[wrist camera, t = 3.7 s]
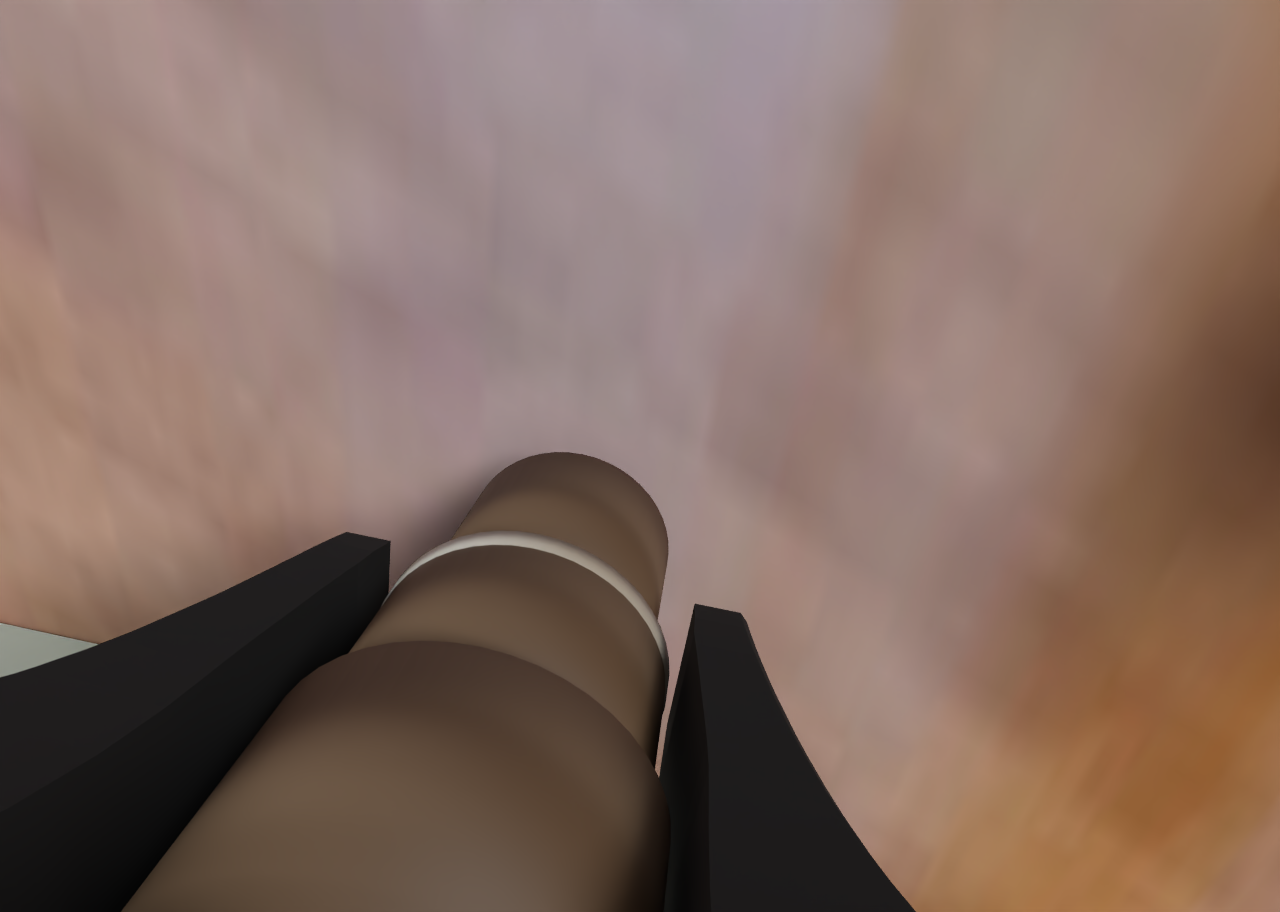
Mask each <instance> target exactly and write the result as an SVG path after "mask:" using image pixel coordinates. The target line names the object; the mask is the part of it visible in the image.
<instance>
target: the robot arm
mask: <svg viewBox="0 0 1280 912" xmlns="http://www.w3.org/2000/svg"><path fill="white" fill-rule="evenodd" d="M390 543H391V541H388V540H383V539H378V538H373V537H368V536H363V535H358V534H354V533H349V532H346V533H343V534H341V535H339V536H336V537H334V538H332V539H329V540H327V541H325V542H323V543H321V544H319V545H317V546H315V547H313V548H311V549H309V550H307V551H305V552H303V553H301V554H299V555H297V556H295V557H293V558H291V559H289V560H287V561H284V562H282V563H280V564H278V565H276V566H274V567H272V568H270V569H268V570H266V571H264V572H262V573H260V574H258V575H256V576H254V577H252V578H250V579H248V580H246V581H244V582H242V583H240V584H237V585H235V586H233V587H231V588H229V589H227V590H225V591H223V592H221V593H219V594H217V595H215V596H212V597H210V598H208V599H206V600H203V601H201V602H199V603H196V604H194V605H192V606H190V607H187V608H185V609H183V610H180V611H178V612H176V613H174V614H171V615H169V616H167V617H164V618H162V619H160V620H157V621H155V622H153V623H151V624H148V625H146V626H144V627H141V628H139V629H137V630H134V631H132V632H129V633H127V634H124V635H122V636H119V637H117V638H114V639H112V640H109V641H106V642H104V643H101V644H98V645H96V646H93V647H90V648H88V649H85V650H82V651H79V652H76V653H73V654H71V655H68V656H65V657H62V658H59V659H56V660H53V661H50V662H47V663H45V664H42V665H39V666H36V667H33V668H30V669H27V670H23V671H20V672H17V673H14V674H10V675H7V676H3V677H0V912H121V911H122V910H123V908H124V907H125V906H126V904H127V903H128V902H129V900H130V899H131V898H132V896H133V895H134V894H135V893H136V891H137V890H138V889H139V887H140V886H141V885H142V883H143V882H144V881H145V879H146V878H147V877H148V876H149V874H150V873H151V872H152V870H153V869H154V868H155V866H156V865H157V864H158V862H159V861H160V860H161V859H162V857H163V856H164V855H165V853H166V852H167V851H168V849H169V848H170V847H171V845H172V844H173V843H174V842H175V840H176V839H177V838H178V836H179V835H180V834H181V832H182V831H183V830H184V828H185V827H186V826H187V824H188V823H189V822H190V821H191V819H192V818H193V817H194V815H195V814H196V813H197V811H198V810H199V809H200V807H201V806H202V805H203V804H204V802H205V801H206V800H207V798H208V797H209V796H210V794H211V793H212V792H213V790H214V789H215V788H216V787H217V785H218V784H219V783H220V781H221V780H222V779H223V777H224V776H225V775H226V773H227V772H228V771H229V770H230V768H231V767H232V766H233V764H234V763H235V762H236V760H237V759H238V758H239V756H240V755H241V754H242V753H243V751H244V750H245V749H246V747H247V746H248V745H249V743H250V742H251V741H252V739H253V738H254V737H255V735H256V734H257V733H258V732H259V730H260V729H261V728H262V726H263V725H264V724H265V722H266V721H267V720H268V718H269V717H270V716H271V715H272V713H273V712H274V711H275V709H276V708H277V707H278V705H279V704H280V703H281V701H282V700H283V699H284V698H285V696H286V695H287V694H288V693H289V692H290V691H291V690H292V689H293V688H294V687H295V686H296V685H297V684H298V683H299V682H300V681H301V680H302V679H303V678H305V677H306V676H308V675H309V674H310V673H312V672H313V671H315V670H316V669H317V668H319V667H320V666H322V665H324V664H326V663H328V662H330V661H332V660H334V659H336V658H338V657H340V656H342V655H345V654H348V653H349V652H350V650H351V649H352V647H353V646H354V645H355V643H356V642H357V640H358V639H359V638H360V636H361V635H362V633H363V632H364V630H365V629H366V628H367V626H368V625H369V623H370V622H371V621H372V619H373V618H374V616H375V615H376V614H377V612H378V611H379V609H380V608H381V606H382V604H383V602H384V600H385V598H386V597H387V595H388V588H389V565H390ZM659 780H660V782H661V785H662V788H663V790H664V793H665V796H666V800H667V805H668V810H669V815H670V825H671V844H670V853H669V863H668V873H667V883H666V892H665V902H664V912H916V911H915V910H914V909H913V908H912V907H911V905H910V904H909V903H908V902H907V901H906V899H905V898H904V897H903V896H902V895H901V893H900V892H899V891H898V890H897V889H896V887H895V886H894V885H893V884H892V883H891V881H890V880H889V879H888V877H887V876H886V875H885V873H884V872H883V871H882V870H881V868H880V867H879V866H878V864H877V863H876V862H875V860H874V859H873V858H872V856H871V855H870V853H869V852H868V851H867V849H866V848H865V846H864V845H863V843H862V842H861V841H860V839H859V838H858V836H857V835H856V833H855V832H854V831H853V829H852V828H851V826H850V825H849V823H848V822H847V820H846V819H845V817H844V816H843V814H842V813H841V811H840V810H839V808H838V806H837V805H836V803H835V802H834V800H833V799H832V797H831V795H830V794H829V792H828V791H827V789H826V787H825V786H824V784H823V782H822V780H821V779H820V777H819V775H818V774H817V772H816V770H815V768H814V767H813V765H812V763H811V762H810V760H809V758H808V756H807V755H806V753H805V751H804V749H803V747H802V745H801V744H800V742H799V740H798V738H797V736H796V734H795V732H794V730H793V728H792V726H791V724H790V722H789V720H788V718H787V716H786V714H785V712H784V710H783V708H782V706H781V704H780V702H779V700H778V698H777V696H776V694H775V692H774V690H773V687H772V685H771V683H770V681H769V678H768V676H767V674H766V671H765V669H764V667H763V664H762V662H761V660H760V657H759V655H758V652H757V650H756V647H755V644H754V642H753V639H752V636H751V633H750V630H749V627H748V624H747V622H746V620H745V619H744V617H743V616H742V614H741V613H738V612H733V611H728V610H723V609H718V608H713V607H709V606H704V605H699V604H695V605H694V609H693V614H692V618H691V622H690V627H689V631H688V636H687V640H686V644H685V649H684V653H683V658H682V662H681V666H680V671H679V675H678V679H677V684H676V688H675V693H674V697H673V701H672V706H671V710H670V714H669V719H668V723H667V730H666V736H665V743H664V749H663V756H662V762H661V769H660V776H659Z"/></svg>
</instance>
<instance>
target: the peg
mask: <svg viewBox="0 0 1280 912" xmlns="http://www.w3.org/2000/svg"><path fill="white" fill-rule="evenodd" d="M667 560H668V537H667V531H666V527H665V524H664V521H663V518H662V516H661V514H660V512H659V510H658V508H657V506H656V504H655V503H654V501H653V500H652V498H651V497H650V495H649V494H648V493H647V492H646V491H645V490H644V489H643V487H642V486H641V485H640V484H639V483H637V482H636V481H635V480H634V479H633V478H632V477H631V476H629V475H628V474H626V473H625V472H623V471H622V470H621V469H619V468H617V467H615V466H613V465H611V464H609V463H607V462H605V461H602V460H600V459H597V458H594V457H590V456H587V455H583V454H576V453H569V452H553V453H544V454H539V455H535V456H530V457H527V458H525V459H522V460H520V461H517V462H515V463H514V464H512V465H510V466H508V467H507V468H505V469H504V470H503V471H501V472H500V473H499V474H497V475H496V476H495V477H494V478H493V479H492V480H491V481H490V483H489V484H488V485H487V487H486V488H485V489H484V491H483V492H482V494H481V495H480V497H479V498H478V500H477V501H476V503H475V504H474V506H473V507H472V509H471V510H470V512H469V513H468V515H467V516H466V518H465V519H464V521H463V522H462V524H461V525H460V527H459V528H458V530H457V531H456V533H455V534H454V536H453V537H452V539H451V540H450V541H448V542H445V543H443V544H441V545H439V546H437V547H435V548H434V549H432V550H430V551H428V552H427V553H425V554H424V555H423V556H421V557H420V558H419V559H417V560H416V561H415V562H414V563H413V564H412V565H411V566H410V567H409V568H408V569H407V570H406V571H405V572H404V573H403V574H402V576H401V577H400V578H399V580H398V581H397V583H396V584H395V585H394V587H393V588H392V590H391V591H390V592H389V594H388V595H387V597H386V598H385V600H384V602H383V604H382V606H381V608H380V609H379V611H378V612H377V614H376V615H375V616H374V618H373V619H372V621H371V622H370V623H369V625H368V626H367V628H366V629H365V630H364V632H363V633H362V635H361V636H360V638H359V639H358V640H357V642H356V643H355V645H354V646H353V647H352V649H351V650H350V652H349V653H348V654H345V655H342V656H340V657H338V658H336V659H334V660H332V661H330V662H328V663H326V664H324V665H322V666H320V667H319V668H317V669H316V670H315V671H313V672H312V673H310V674H309V675H308V676H306V677H305V678H303V679H302V680H301V681H300V682H299V683H298V684H297V685H296V686H295V687H294V688H293V689H292V690H291V691H290V692H289V693H288V694H287V695H286V696H285V698H284V699H283V700H282V701H281V703H280V704H279V705H278V707H277V708H276V709H275V711H274V712H273V713H272V715H271V716H270V717H269V718H268V720H267V721H266V722H265V724H264V725H263V726H262V728H261V729H260V730H259V732H258V733H257V734H256V735H255V737H254V738H253V739H252V741H251V742H250V743H249V745H248V746H247V747H246V749H245V750H244V751H243V753H242V754H241V755H240V756H239V758H238V759H237V760H236V762H235V763H234V764H233V766H232V767H231V768H230V770H229V771H228V772H227V773H226V775H225V776H224V777H223V779H222V780H221V781H220V783H219V784H218V785H217V787H216V788H215V789H214V790H213V792H212V793H211V794H210V796H209V797H208V798H207V800H206V801H205V802H204V804H203V805H202V806H201V807H200V809H199V810H198V811H197V813H196V814H195V815H194V817H193V818H192V819H191V821H190V822H189V823H188V824H187V826H186V827H185V828H184V830H183V831H182V832H181V834H180V835H179V836H178V838H177V839H176V840H175V842H174V843H173V844H172V845H171V847H170V848H169V849H168V851H167V852H166V853H165V855H164V856H163V857H162V859H161V860H160V861H159V862H158V864H157V865H156V866H155V868H154V869H153V870H152V872H151V873H150V874H149V876H148V877H147V878H146V879H145V881H144V882H143V883H142V885H141V886H140V887H139V889H138V890H137V891H136V893H135V894H134V895H133V896H132V898H131V899H130V900H129V902H128V903H127V904H126V906H125V907H124V908H123V910H122V911H121V912H664V902H665V892H666V883H667V873H668V863H669V853H670V844H671V825H670V815H669V810H668V805H667V800H666V796H665V793H664V790H663V788H662V785H661V782H660V780H659V777H658V775H657V773H656V771H655V764H656V757H657V749H658V742H659V735H660V727H661V720H662V714H663V711H664V708H665V703H666V696H667V688H668V681H669V657H668V651H667V646H666V641H665V639H664V636H663V633H662V630H661V627H660V625H659V623H658V621H657V620H658V614H659V608H660V602H661V596H662V590H663V585H664V579H665V573H666V567H667Z"/></svg>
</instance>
